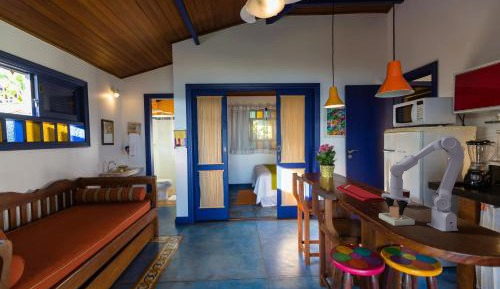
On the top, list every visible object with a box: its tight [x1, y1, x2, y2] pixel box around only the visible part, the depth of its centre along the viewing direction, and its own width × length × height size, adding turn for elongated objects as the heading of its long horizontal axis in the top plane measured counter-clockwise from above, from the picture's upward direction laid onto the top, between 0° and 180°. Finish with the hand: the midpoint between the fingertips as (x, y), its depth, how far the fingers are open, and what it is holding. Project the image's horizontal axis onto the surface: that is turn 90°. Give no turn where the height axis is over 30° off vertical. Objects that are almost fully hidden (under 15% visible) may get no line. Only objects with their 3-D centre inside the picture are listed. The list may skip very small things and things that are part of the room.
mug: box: [395, 188, 411, 207], centre depth 156 cm, size 11×8×10 cm
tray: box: [378, 212, 416, 227], centre depth 130 cm, size 12×11×2 cm
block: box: [389, 204, 404, 219], centre depth 130 cm, size 4×4×5 cm
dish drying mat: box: [335, 184, 386, 203], centre depth 189 cm, size 16×41×4 cm, turn 6°
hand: (396, 213), depth 130 cm, fingers closed on block, 4 cm apart
